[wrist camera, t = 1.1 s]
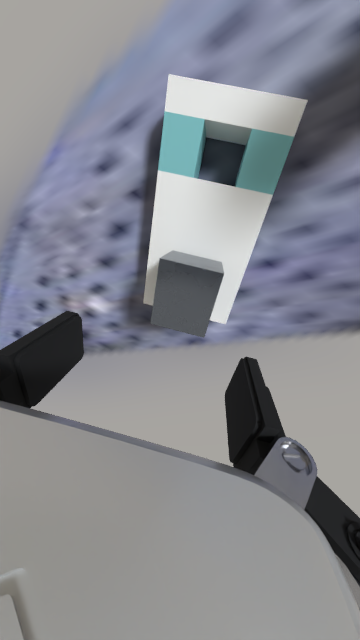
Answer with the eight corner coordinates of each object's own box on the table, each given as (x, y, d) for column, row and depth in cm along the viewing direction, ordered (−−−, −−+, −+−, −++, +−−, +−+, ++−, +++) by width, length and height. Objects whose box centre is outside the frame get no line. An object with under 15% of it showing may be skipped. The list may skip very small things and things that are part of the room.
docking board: (176, 101, 20) (168, 74, 16) (290, 123, 19) (307, 100, 15) (151, 294, 30) (143, 303, 26) (224, 312, 29) (225, 324, 26)
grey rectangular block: (220, 256, 26) (224, 273, 17) (207, 302, 29) (204, 337, 20) (179, 246, 26) (159, 258, 17) (170, 292, 29) (150, 323, 20)
